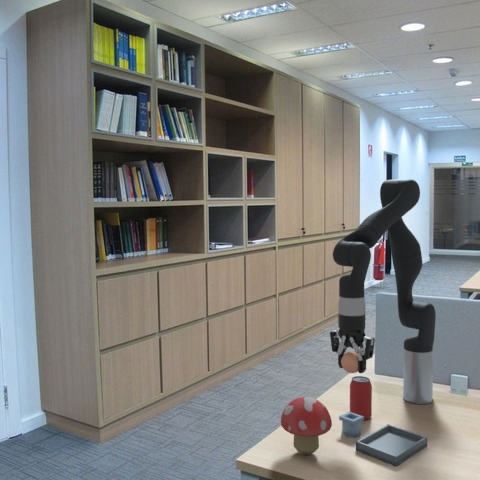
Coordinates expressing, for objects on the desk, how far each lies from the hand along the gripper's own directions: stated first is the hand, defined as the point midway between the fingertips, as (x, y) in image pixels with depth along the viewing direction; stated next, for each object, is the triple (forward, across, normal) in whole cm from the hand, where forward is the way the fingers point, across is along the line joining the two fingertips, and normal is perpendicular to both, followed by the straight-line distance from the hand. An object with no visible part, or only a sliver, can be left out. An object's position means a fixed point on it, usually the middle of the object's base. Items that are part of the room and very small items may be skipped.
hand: (351, 369), depth 149 cm
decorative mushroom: (+19, +1, +19) cm, 27 cm away
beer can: (+19, +5, -12) cm, 23 cm away
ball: (+1, 0, 0) cm, 1 cm away
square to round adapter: (+19, 0, 0) cm, 19 cm away
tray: (+19, -13, 0) cm, 23 cm away
